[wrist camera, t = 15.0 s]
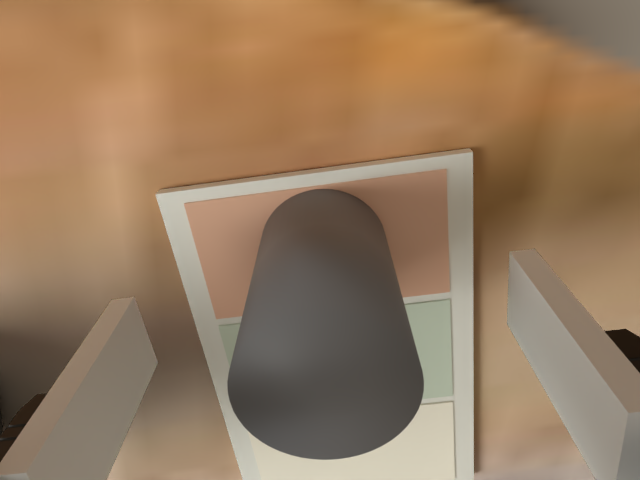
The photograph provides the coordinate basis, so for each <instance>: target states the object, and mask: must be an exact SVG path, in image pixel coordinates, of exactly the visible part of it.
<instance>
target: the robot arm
mask: <svg viewBox="0 0 640 480" xmlns="http://www.w3.org/2000/svg"><path fill="white" fill-rule="evenodd" d="M507 325H508V326H509V328H510V330H511V332H512V333H513V335H514V337H515V339H516V340H517V342H518V344H519V346H520V347H521V349H522V351H523V353H524V355H525V356H526V358H527V360H528V362H529V363H530V365H531V367H532V369H533V370H534V372H535V374H536V376H537V377H538V379H539V381H540V383H541V384H542V386H543V388H544V390H545V391H546V393H547V395H548V397H549V399H550V400H551V402H552V404H553V406H554V407H555V409H556V411H557V413H558V414H559V416H560V418H561V420H562V421H563V423H564V425H565V427H566V428H567V430H568V432H569V434H570V435H571V437H572V439H573V441H574V443H575V444H576V446H577V448H578V450H579V451H580V453H581V455H582V457H583V458H584V460H585V462H586V464H587V465H588V467H589V469H590V471H591V472H592V474H593V476H594V478H595V479H596V480H640V337H639V336H637V335H635V334H633V333H632V332H630V331H628V330H626V329H620V330H611V331H604V330H603V329H602V328H601V327H600V326H599V324H598V323H597V322H596V321H595V320H594V318H593V317H592V316H591V315H590V314H589V312H588V311H587V310H586V309H585V308H584V307H583V305H582V304H581V303H580V302H579V301H578V299H577V298H576V297H575V296H574V295H573V294H572V292H571V291H570V290H569V289H568V288H567V286H566V285H565V284H564V283H563V282H562V281H561V279H560V278H559V277H558V276H557V275H556V273H555V272H554V271H553V270H552V269H551V267H550V266H549V265H548V264H547V263H546V262H545V260H544V259H543V258H542V257H541V256H540V254H539V253H538V252H537V251H536V250H535V249H527V250H518V251H510V252H509V279H508V309H507ZM157 364H158V361H157V358H156V355H155V353H154V350H153V347H152V344H151V342H150V339H149V336H148V333H147V330H146V328H145V325H144V322H143V319H142V317H141V314H140V311H139V308H138V306H137V303H136V300H135V297H128V298H120V299H112V300H111V301H110V303H109V304H108V306H107V307H106V309H105V310H104V311H103V313H102V314H101V316H100V317H99V319H98V320H97V322H96V323H95V325H94V326H93V328H92V329H91V330H90V332H89V333H88V335H87V336H86V338H85V339H84V341H83V342H82V344H81V345H80V347H79V348H78V349H77V351H76V352H75V354H74V355H73V357H72V358H71V360H70V361H69V363H68V364H67V366H66V367H65V368H64V370H63V371H62V373H61V374H60V376H59V377H58V379H57V380H56V382H55V383H54V385H53V386H52V387H51V389H50V390H49V392H48V393H47V394H38V395H36V396H35V397H34V398H33V399H32V400H30V401H29V402H28V403H27V404H26V405H25V406H23V407H22V408H21V409H20V410H19V411H18V413H17V414H16V416H15V417H14V418H13V420H12V421H11V423H10V424H9V425H8V426H9V427H8V429H5V431H4V432H3V434H2V435H1V436H0V480H107V478H108V475H109V473H110V471H111V469H112V466H113V464H114V462H115V460H116V457H117V455H118V453H119V450H120V448H121V446H122V444H123V441H124V439H125V437H126V435H127V432H128V430H129V428H130V425H131V423H132V421H133V419H134V416H135V414H136V412H137V410H138V407H139V405H140V403H141V400H142V398H143V396H144V394H145V391H146V389H147V387H148V385H149V382H150V380H151V378H152V375H153V373H154V371H155V369H156V366H157Z"/></svg>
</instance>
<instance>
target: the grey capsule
mask: <svg viewBox="0 0 640 480" xmlns="http://www.w3.org/2000/svg"><path fill="white" fill-rule="evenodd" d="M227 386H228V396H229V401H230V404H231V406H232V409H233V411H234V413H235V415H236V416H237V418H238V420H239V421H240V422H241V424H242V425H243V426H244V427H245V428H246V429H247V430H248V431H249V432H250V433H251V434H252V435H253V436H254V437H256V438H257V439H258V440H260V441H261V442H263V443H264V444H266V445H268V446H269V447H271V448H274V449H276V450H278V451H280V452H283V453H286V454H289V455H293V456H297V457H301V458H308V459H318V460H332V459H343V458H349V457H354V456H358V455H361V454H364V453H367V452H370V451H373V450H375V449H377V448H379V447H381V446H383V445H385V444H386V443H388V442H390V441H391V440H392V439H394V438H395V437H396V436H398V435H399V434H400V433H401V432H402V431H403V430H404V429H405V428H406V427H407V426H408V425H409V423H410V422H411V421H412V420H413V418H414V416H415V415H416V413H417V411H418V409H419V407H420V404H421V401H422V397H423V392H424V378H423V371H422V367H421V364H420V360H419V356H418V353H417V349H416V345H415V342H414V338H413V334H412V330H411V327H410V323H409V319H408V316H407V312H406V308H405V305H404V301H403V297H402V294H401V290H400V286H399V283H398V279H397V275H396V272H395V268H394V264H393V261H392V257H391V253H390V250H389V246H388V242H387V239H386V235H385V231H384V228H383V225H382V223H381V221H380V219H379V218H378V216H377V215H376V213H375V212H374V211H373V210H372V209H371V208H370V206H368V205H367V204H366V203H365V202H364V201H362V200H360V199H359V198H357V197H355V196H353V195H351V194H349V193H346V192H343V191H339V190H333V189H314V190H309V191H305V192H302V193H299V194H297V195H294V196H292V197H290V198H289V199H287V200H286V201H284V202H283V203H282V204H280V205H279V206H278V207H277V208H276V209H275V210H274V212H273V213H272V214H271V216H270V217H269V218H268V220H267V222H266V224H265V227H264V230H263V233H262V237H261V241H260V245H259V249H258V253H257V258H256V262H255V266H254V270H253V274H252V278H251V282H250V286H249V291H248V295H247V299H246V303H245V307H244V311H243V315H242V319H241V324H240V328H239V332H238V336H237V340H236V344H235V348H234V352H233V357H232V361H231V365H230V369H229V374H228V381H227Z"/></svg>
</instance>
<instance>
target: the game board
mask: <svg viewBox="0 0 640 480" xmlns="http://www.w3.org/2000/svg"><path fill="white" fill-rule="evenodd" d="M314 189H333V190H339V191H343V192H346V193H349V194H351V195H353V196H355V197H357V198H359V199H360V200H362V201H364V202H365V203H366V204H367V205H368V206H370V208H371V209H372V210H373V211H374V212H375V213H376V215H377V216H378V218H379V219H380V221H381V223H382V225H383V228H384V231H385V235H386V239H387V242H388V246H389V250H390V253H391V257H392V261H393V264H394V268H395V272H396V275H397V279H398V283H399V286H400V290H401V294H402V297H403V301H404V305H405V308H406V312H407V316H408V319H409V323H410V327H411V330H412V334H413V338H414V342H415V345H416V349H417V353H418V356H419V360H420V364H421V367H422V371H423V378H424V392H423V397H422V401H421V404H420V407H419V409H418V411H417V413H416V415H415V416H414V418H413V420H412V421H411V422H410V423H409V425H408V426H407V427H406V428H405V429H404V430H403V431H402V432H401V433H400V434H399V435H398V436H396V437H395V438H394V439H392V440H391V441H390V442H388V443H386V444H385V445H383V446H381V447H379V448H377V449H375V450H373V451H370V452H367V453H364V454H361V455H358V456H354V457H349V458H343V459H332V460H318V459H308V458H301V457H297V456H293V455H289V454H286V453H283V452H280V451H278V450H276V449H274V448H271V447H269V446H268V445H266V444H264V443H263V442H261V441H260V440H258V439H257V438H256V437H254V436H253V435H252V434H251V433H250V432H249V431H248V430H247V429H246V428H245V427H244V426H243V425H242V424H241V422H240V421H239V420H238V418H237V416H236V415H235V413H234V411H233V409H232V406H231V404H230V401H229V396H228V386H227V381H228V374H229V369H230V365H231V361H232V357H233V352H234V348H235V344H236V340H237V336H238V332H239V328H240V324H241V319H242V315H243V311H244V307H245V303H246V299H247V295H248V291H249V286H250V282H251V278H252V274H253V270H254V266H255V262H256V258H257V253H258V249H259V245H260V241H261V237H262V233H263V230H264V227H265V224H266V222H267V220H268V218H269V217H270V216H271V214H272V213H273V212H274V210H275V209H276V208H277V207H278V206H279V205H280V204H282V203H283V202H284V201H286V200H287V199H289V198H290V197H292V196H294V195H297V194H299V193H302V192H305V191H309V190H314ZM156 198H157V201H158V204H159V207H160V211H161V214H162V217H163V220H164V224H165V227H166V230H167V234H168V237H169V240H170V243H171V247H172V250H173V253H174V256H175V260H176V263H177V266H178V270H179V273H180V276H181V279H182V283H183V286H184V289H185V292H186V296H187V299H188V302H189V305H190V309H191V312H192V315H193V319H194V322H195V325H196V328H197V332H198V335H199V338H200V341H201V345H202V348H203V351H204V355H205V358H206V361H207V364H208V368H209V371H210V374H211V377H212V381H213V384H214V387H215V390H216V394H217V397H218V400H219V404H220V407H221V410H222V413H223V417H224V420H225V423H226V426H227V430H228V433H229V436H230V440H231V443H232V446H233V449H234V453H235V456H236V459H237V462H238V466H239V469H240V472H241V475H242V479H243V480H474V345H473V151H472V150H471V149H470V148H467V149H459V150H452V151H444V152H437V153H429V154H422V155H414V156H407V157H400V158H392V159H385V160H377V161H370V162H362V163H355V164H347V165H340V166H332V167H325V168H317V169H310V170H302V171H295V172H287V173H280V174H272V175H265V176H258V177H250V178H243V179H235V180H228V181H220V182H213V183H205V184H198V185H190V186H183V187H175V188H168V189H160V190H159V191H158V192H157V193H156Z"/></svg>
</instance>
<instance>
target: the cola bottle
mask: <svg viewBox="0 0 640 480" xmlns="http://www.w3.org/2000/svg"><path fill="white" fill-rule="evenodd" d="M1 435H2V417H1V412H0V436H1Z"/></svg>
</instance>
